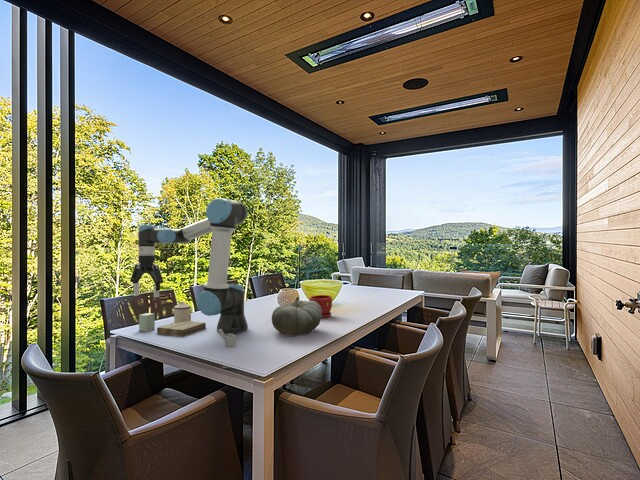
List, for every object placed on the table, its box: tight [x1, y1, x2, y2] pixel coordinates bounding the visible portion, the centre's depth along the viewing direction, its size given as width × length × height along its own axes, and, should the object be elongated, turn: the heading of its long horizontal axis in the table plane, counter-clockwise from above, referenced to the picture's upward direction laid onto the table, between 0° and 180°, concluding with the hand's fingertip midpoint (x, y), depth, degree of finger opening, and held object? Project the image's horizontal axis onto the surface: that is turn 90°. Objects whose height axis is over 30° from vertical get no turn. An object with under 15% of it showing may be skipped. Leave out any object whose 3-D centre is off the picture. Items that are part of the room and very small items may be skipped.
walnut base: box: [156, 320, 207, 337], centre depth 173 cm, size 16×16×3 cm
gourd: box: [271, 297, 323, 337], centre depth 168 cm, size 25×25×17 cm
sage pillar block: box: [138, 312, 156, 332], centre depth 176 cm, size 5×5×8 cm
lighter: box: [218, 328, 237, 349], centre depth 146 cm, size 7×2×8 cm, turn 122°
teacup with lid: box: [173, 300, 192, 323], centre depth 194 cm, size 12×9×12 cm
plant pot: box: [309, 294, 333, 319], centre depth 204 cm, size 13×13×12 cm
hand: (146, 296), depth 177 cm, fingers open, 13 cm apart
